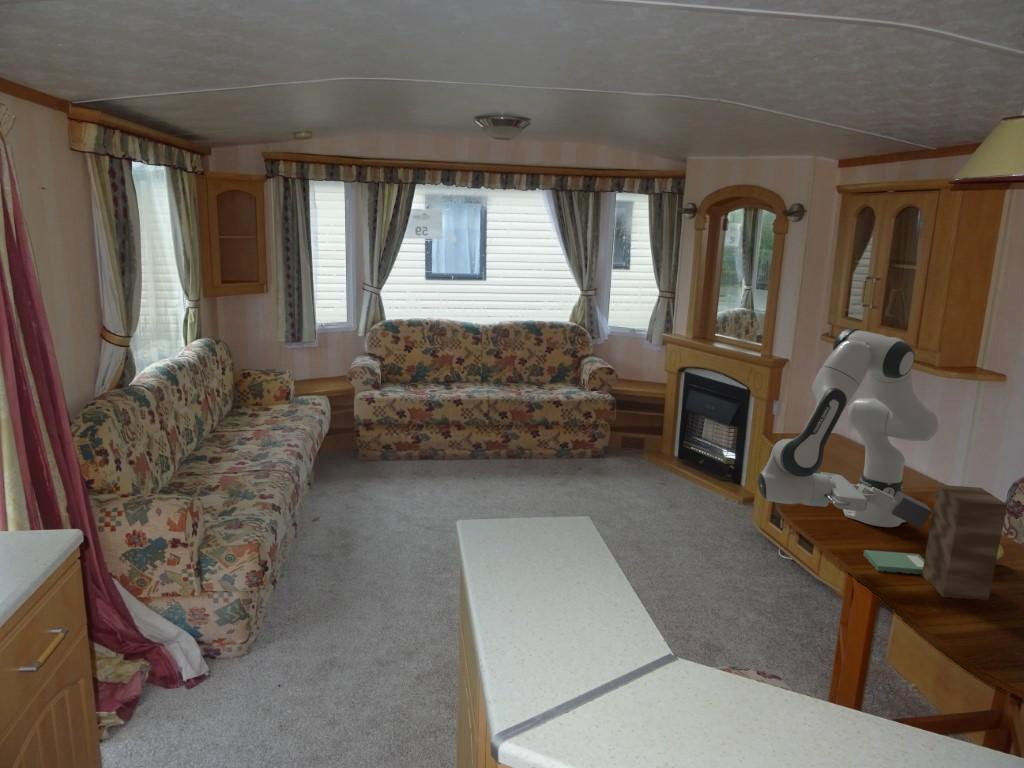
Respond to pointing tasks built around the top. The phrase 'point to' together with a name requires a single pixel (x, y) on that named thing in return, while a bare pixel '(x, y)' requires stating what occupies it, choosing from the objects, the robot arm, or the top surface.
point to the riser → (963, 541)
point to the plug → (899, 505)
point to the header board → (895, 561)
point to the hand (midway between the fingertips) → (871, 493)
